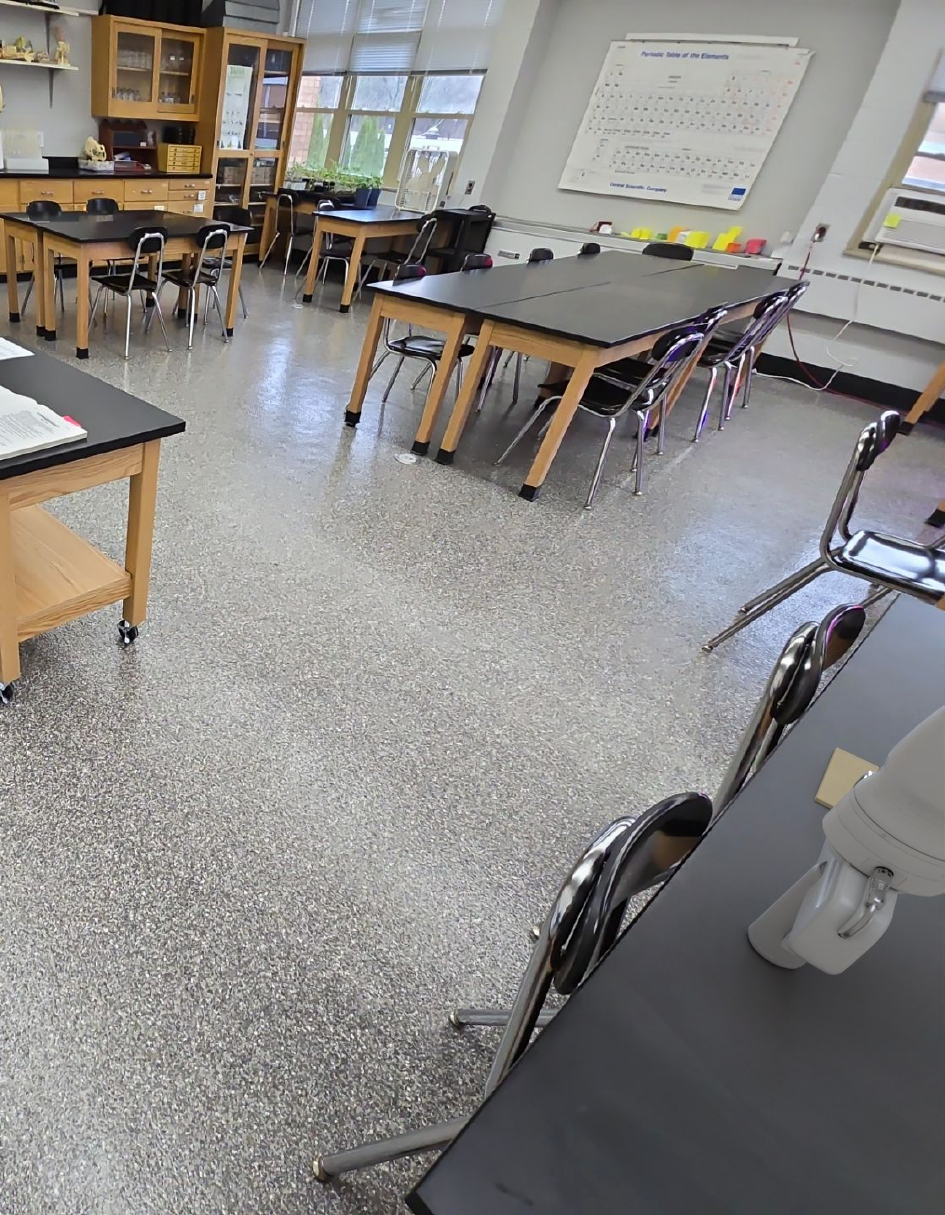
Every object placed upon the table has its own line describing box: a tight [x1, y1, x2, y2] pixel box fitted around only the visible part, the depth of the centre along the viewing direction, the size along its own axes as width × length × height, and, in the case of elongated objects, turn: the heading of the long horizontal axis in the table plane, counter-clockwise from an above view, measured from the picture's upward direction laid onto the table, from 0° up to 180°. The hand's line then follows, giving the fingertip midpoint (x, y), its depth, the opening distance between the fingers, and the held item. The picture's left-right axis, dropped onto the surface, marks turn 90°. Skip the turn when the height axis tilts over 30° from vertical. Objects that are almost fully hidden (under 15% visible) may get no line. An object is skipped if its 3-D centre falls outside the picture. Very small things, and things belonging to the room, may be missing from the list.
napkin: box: [813, 747, 880, 810], centre depth 92 cm, size 13×4×1 cm, turn 132°
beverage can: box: [747, 860, 828, 970], centre depth 70 cm, size 5×5×12 cm
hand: (799, 924), depth 71 cm, fingers open, 6 cm apart
